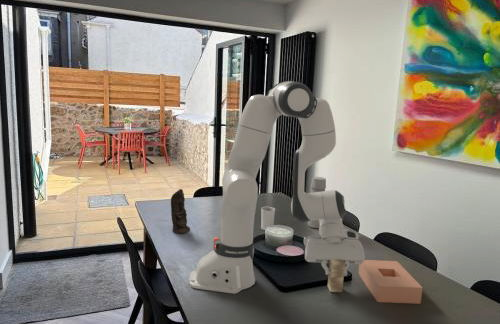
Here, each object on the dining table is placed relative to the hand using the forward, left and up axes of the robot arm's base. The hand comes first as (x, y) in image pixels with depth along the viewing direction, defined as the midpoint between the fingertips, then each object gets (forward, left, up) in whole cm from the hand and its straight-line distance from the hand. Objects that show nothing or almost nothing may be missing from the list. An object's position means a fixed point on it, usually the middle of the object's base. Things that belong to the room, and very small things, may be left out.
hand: (336, 275), depth 126 cm
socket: (+19, +4, -6) cm, 20 cm away
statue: (-60, +51, -6) cm, 79 cm away
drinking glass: (-19, +60, -6) cm, 63 cm away
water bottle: (+6, +67, -6) cm, 67 cm away
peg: (0, +1, -5) cm, 5 cm away
